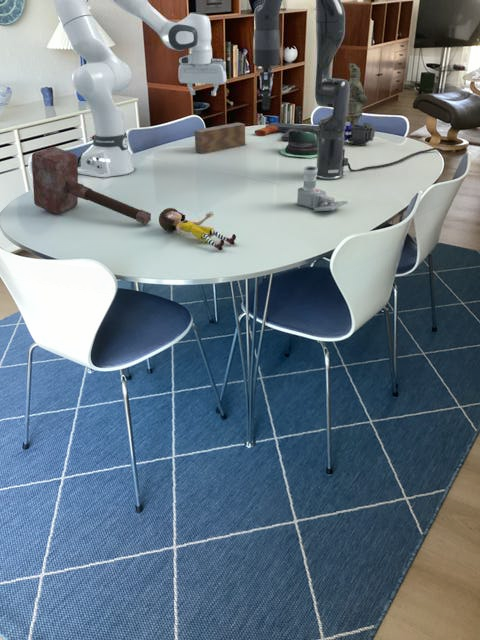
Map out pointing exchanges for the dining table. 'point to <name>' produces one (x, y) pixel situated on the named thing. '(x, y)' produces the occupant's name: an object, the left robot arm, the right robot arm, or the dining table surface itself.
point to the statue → (355, 96)
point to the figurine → (191, 227)
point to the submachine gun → (282, 129)
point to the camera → (315, 193)
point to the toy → (359, 133)
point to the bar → (219, 137)
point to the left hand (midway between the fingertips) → (203, 95)
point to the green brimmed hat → (302, 143)
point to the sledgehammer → (69, 186)
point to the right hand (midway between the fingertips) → (266, 107)
